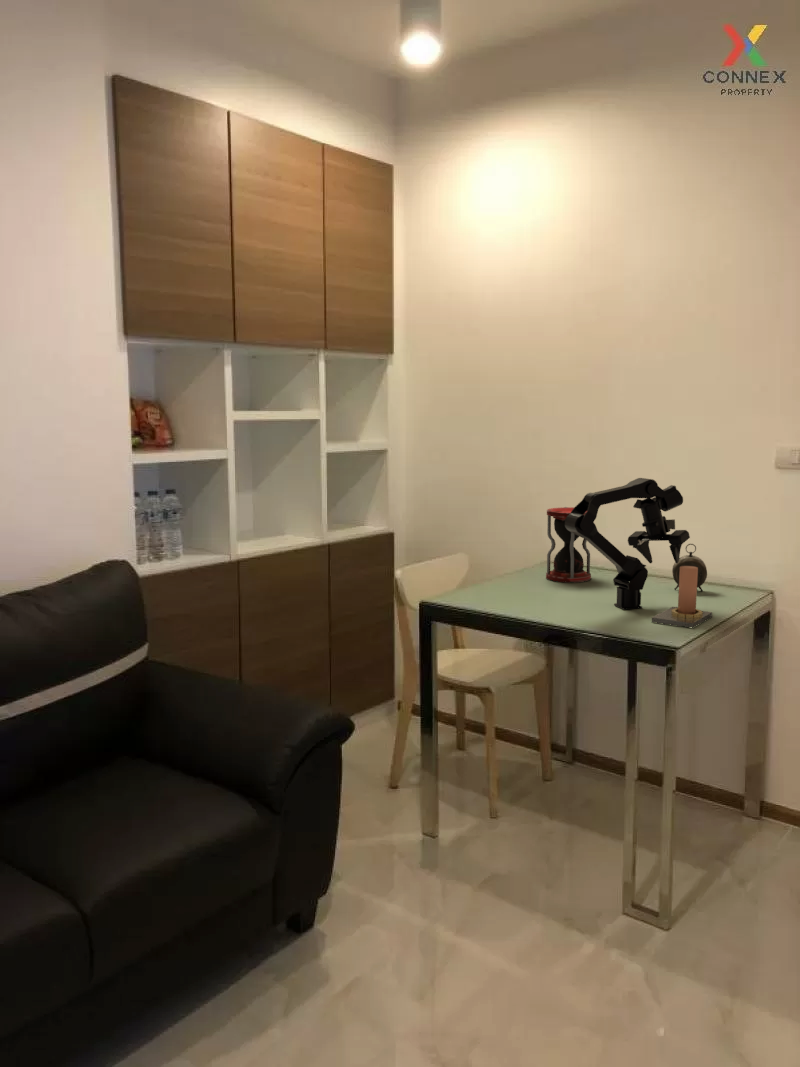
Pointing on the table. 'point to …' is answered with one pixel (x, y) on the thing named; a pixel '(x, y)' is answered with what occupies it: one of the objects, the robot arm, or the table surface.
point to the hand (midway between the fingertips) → (664, 562)
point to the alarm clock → (690, 561)
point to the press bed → (681, 617)
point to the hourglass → (566, 551)
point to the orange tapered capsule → (687, 589)
